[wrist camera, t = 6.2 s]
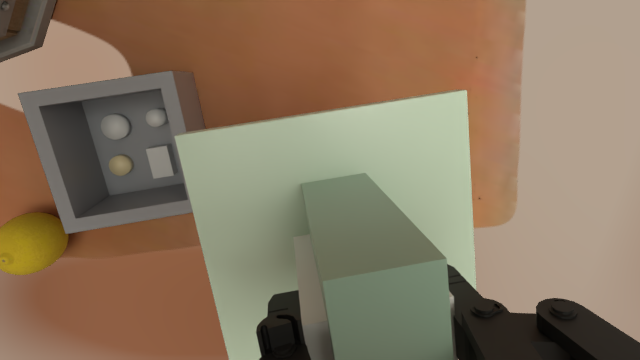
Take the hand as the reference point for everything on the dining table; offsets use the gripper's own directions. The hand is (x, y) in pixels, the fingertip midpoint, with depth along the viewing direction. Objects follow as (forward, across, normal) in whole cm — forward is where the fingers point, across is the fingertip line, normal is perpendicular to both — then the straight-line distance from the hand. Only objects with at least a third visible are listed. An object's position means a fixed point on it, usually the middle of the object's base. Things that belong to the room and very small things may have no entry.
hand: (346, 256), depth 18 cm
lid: (+3, 0, 0) cm, 3 cm away
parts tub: (+25, -16, +4) cm, 30 cm away
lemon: (+26, -28, -3) cm, 38 cm away
